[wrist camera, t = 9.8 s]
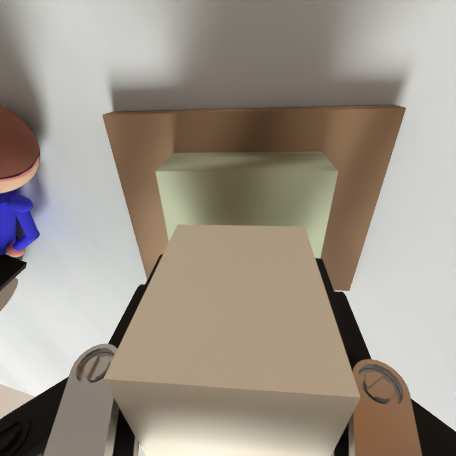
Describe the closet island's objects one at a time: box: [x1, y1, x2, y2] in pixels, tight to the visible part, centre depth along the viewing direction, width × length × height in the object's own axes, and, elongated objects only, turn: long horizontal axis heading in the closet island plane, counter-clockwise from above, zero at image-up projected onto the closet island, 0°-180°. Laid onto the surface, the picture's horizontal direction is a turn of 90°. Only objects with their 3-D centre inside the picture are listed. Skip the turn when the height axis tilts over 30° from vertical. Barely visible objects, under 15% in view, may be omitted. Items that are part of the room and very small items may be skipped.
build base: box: [102, 105, 406, 291], centre depth 15 cm, size 15×12×4 cm
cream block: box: [104, 224, 361, 456], centre depth 9 cm, size 5×5×6 cm
